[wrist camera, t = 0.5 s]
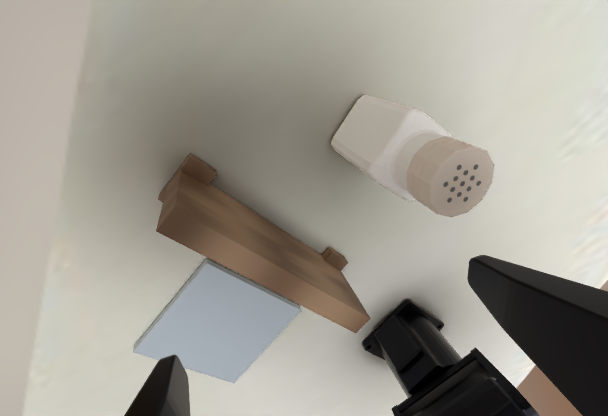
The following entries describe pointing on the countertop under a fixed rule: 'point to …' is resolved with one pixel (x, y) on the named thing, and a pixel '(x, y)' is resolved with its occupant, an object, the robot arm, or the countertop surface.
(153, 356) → the slate coaster
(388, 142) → the pepper shaker
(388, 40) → the countertop surface
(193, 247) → the walnut screen
